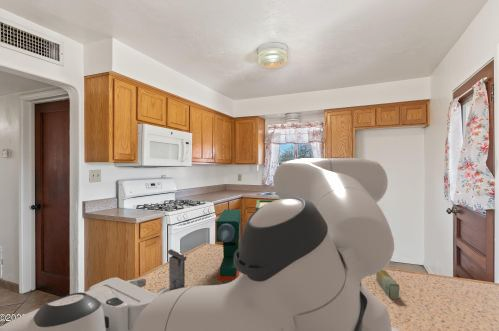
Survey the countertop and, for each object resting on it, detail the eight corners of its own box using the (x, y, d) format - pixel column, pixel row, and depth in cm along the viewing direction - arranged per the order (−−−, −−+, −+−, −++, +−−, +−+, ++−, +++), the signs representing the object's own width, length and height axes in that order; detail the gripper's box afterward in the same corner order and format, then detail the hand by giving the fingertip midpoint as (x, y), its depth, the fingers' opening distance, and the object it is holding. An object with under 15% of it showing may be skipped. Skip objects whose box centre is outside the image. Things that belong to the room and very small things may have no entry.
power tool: (236, 301, 73) (236, 228, 73) (211, 301, 73) (211, 228, 73) (242, 260, 105) (242, 209, 105) (224, 259, 105) (224, 209, 105)
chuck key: (192, 304, 70) (191, 254, 70) (178, 310, 68) (178, 258, 68) (176, 294, 76) (175, 247, 76) (162, 299, 74) (162, 250, 74)
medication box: (399, 300, 74) (400, 285, 74) (389, 299, 75) (389, 284, 75) (384, 281, 86) (384, 269, 86) (375, 280, 87) (375, 268, 87)
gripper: (75, 310, 61) (131, 288, 72) (124, 344, 49) (182, 310, 61) (75, 282, 61) (131, 264, 73) (124, 309, 49) (182, 283, 61)
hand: (155, 285), depth 67 cm, fingers open, 8 cm apart
